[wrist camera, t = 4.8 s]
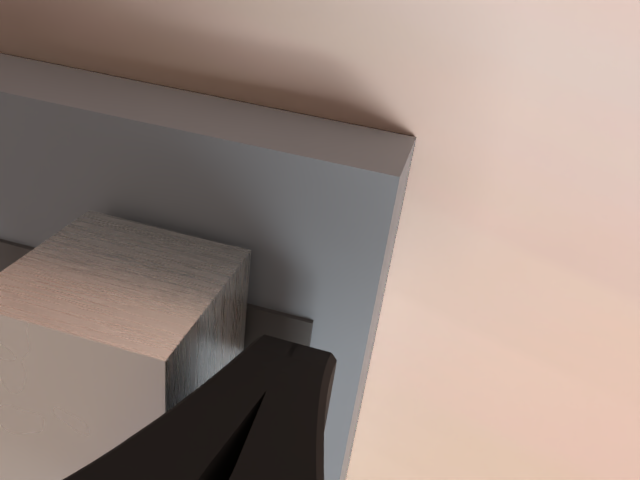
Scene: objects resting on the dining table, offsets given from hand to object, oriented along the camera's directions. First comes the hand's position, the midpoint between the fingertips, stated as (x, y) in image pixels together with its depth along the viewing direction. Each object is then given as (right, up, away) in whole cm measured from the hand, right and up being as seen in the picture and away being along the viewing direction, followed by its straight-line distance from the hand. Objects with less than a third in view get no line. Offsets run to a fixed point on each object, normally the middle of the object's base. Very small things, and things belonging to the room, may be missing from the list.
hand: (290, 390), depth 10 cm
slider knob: (-2, +1, +1) cm, 3 cm away
